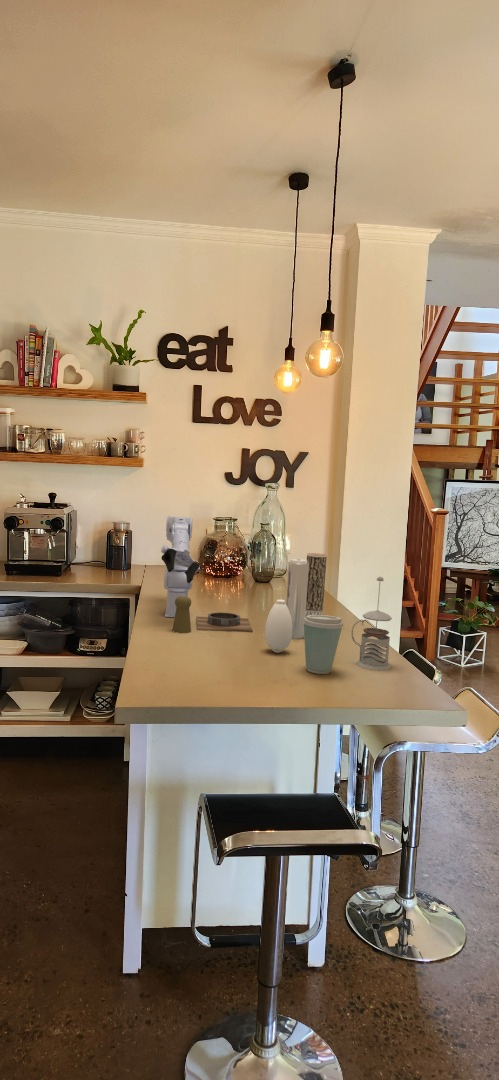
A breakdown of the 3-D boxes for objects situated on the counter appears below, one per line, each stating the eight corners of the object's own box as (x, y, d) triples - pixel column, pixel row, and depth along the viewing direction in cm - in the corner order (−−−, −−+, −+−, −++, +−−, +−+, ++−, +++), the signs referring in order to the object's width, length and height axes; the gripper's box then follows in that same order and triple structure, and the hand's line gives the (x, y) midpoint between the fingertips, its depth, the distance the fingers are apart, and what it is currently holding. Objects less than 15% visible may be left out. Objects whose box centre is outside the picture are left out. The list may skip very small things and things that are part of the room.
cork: (169, 629, 220) (171, 595, 219) (187, 628, 223) (189, 595, 222) (175, 633, 215) (177, 598, 214) (193, 632, 217) (195, 598, 216)
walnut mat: (196, 618, 239) (196, 616, 239) (247, 620, 241) (247, 618, 241) (197, 630, 221) (197, 628, 221) (252, 632, 223) (252, 630, 223)
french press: (391, 671, 186) (398, 580, 184) (348, 666, 188) (355, 576, 186) (391, 662, 196) (398, 575, 193) (350, 657, 198) (356, 572, 196)
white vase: (295, 654, 198) (299, 593, 196) (270, 656, 195) (274, 593, 193) (284, 648, 205) (287, 588, 203) (259, 649, 202) (263, 588, 200)
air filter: (304, 639, 217) (309, 561, 215) (284, 638, 217) (289, 560, 215) (303, 634, 223) (308, 558, 221) (283, 633, 224) (288, 557, 221)
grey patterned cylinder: (299, 623, 240) (304, 552, 238) (317, 623, 242) (322, 553, 240) (306, 628, 234) (311, 555, 231) (324, 627, 236) (330, 555, 233)
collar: (207, 619, 236) (207, 611, 236) (238, 620, 237) (238, 613, 237) (208, 626, 225) (208, 618, 225) (240, 627, 226) (241, 619, 226)
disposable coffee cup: (293, 666, 186) (296, 611, 184) (328, 664, 190) (332, 611, 188) (310, 677, 176) (314, 620, 174) (347, 675, 180) (351, 619, 178)
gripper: (170, 530, 224) (169, 557, 213) (205, 551, 230) (206, 578, 220) (157, 543, 227) (156, 570, 216) (192, 564, 233) (192, 591, 223)
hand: (180, 575), depth 218 cm, fingers open, 7 cm apart
